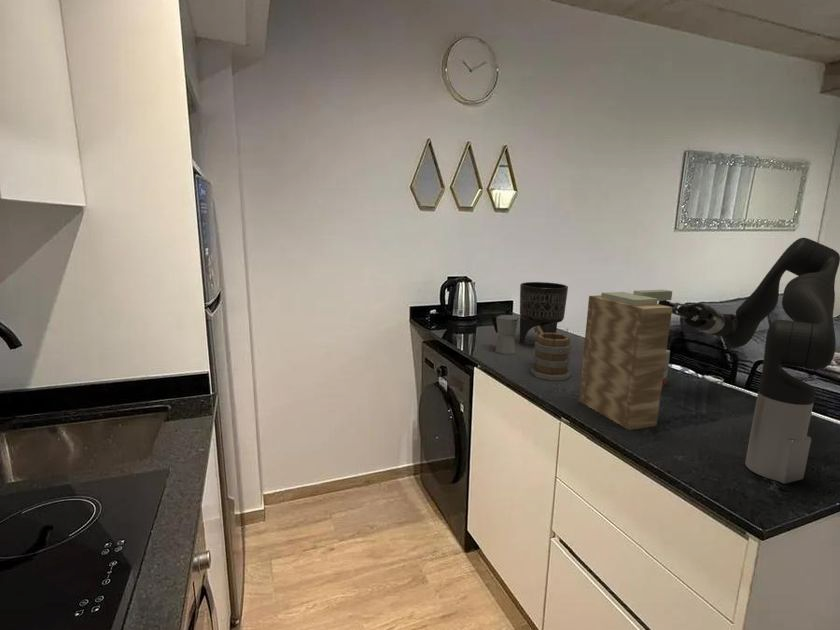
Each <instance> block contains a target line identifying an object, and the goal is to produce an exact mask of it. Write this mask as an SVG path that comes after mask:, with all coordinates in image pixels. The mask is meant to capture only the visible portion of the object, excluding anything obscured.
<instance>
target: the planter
mask: <svg viewBox="0 0 840 630" xmlns="http://www.w3.org/2000/svg"><path fill="white" fill-rule="evenodd" d="M568 290H569V286H568V285H566V284H564V283H563V284H562V283H558V282H557V283H555V282H544V281H543V282H542V281H529V282H522V283H520V285H519V316H520V317H519V343H520V344H524V343H526V338H527V334H528V333H529V331H530V330H531V329H533V328H535V327H536V326H540V328H541V329H542V331H543V333H557V331H558V330H557V327H558V324H559V323H561V322H563V321H564V319H565V313H566V305H567V300H568V299H567V298H568V292H569V291H568Z"/></svg>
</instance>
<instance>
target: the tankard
mask: <svg viewBox="0 0 840 630" xmlns="http://www.w3.org/2000/svg"><path fill="white" fill-rule="evenodd" d="M533 328H534V329H533V331H534V333H537V335H536V336H537V339H536V341H534V355H533V363H535V364H534V366H533V367H531V368H530V373H531V374H532V375H533V376H535V377H536V378H537V379H542V380H546V381H549V382H555V381H557V382H558V381H566V380H568V379H569V378H570V377H571V375H572V371H570V370H569V369H568V366H569V365H571V357H569V354H570V352H571V351H572V343H570V342H571V337H570V336H568V335H566V334H563V333H557V332H556V333H543V331H542V329H541V328H540V326H536V327H533Z"/></svg>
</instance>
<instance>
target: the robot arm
mask: <svg viewBox="0 0 840 630" xmlns="http://www.w3.org/2000/svg"><path fill="white" fill-rule="evenodd" d="M839 267H840V253H839V252H838V251H836V250H835V249H833V248H831V247H829V246H827V245H825V244H822V243H820V242H819V241H818V242H817V241H815V240H813V239H811V238H808V237H800V238H798V239H796V240H795V241H793V242H792V243H791V244H790V245H789V246H788V247H787V248H786V249H785V250H784V252H782V254H781V255H780V257H779V258H778V259H777V261H776V262H775V264H773V266H772V267H771V268H770V269H769V271H768V272H767V273H766V275H765V276H764V277H763V279H762V280H761V282H760V283H759V284H758V286H757V287H756V288H755V290H754V291H752V293H751V294H750V295H749V296H748V297H747V299H745V300H744V301H743V302H742V303H741V304H740V306H739V307H737V309H736V311H735V314H733V313H722V312H720V311H719V310H717V309H715V308H713V307H711V306H709V305H707V304H704V303H699V302H697V303H693V304H683V303H680V302H672V301H671V300H665V301H658V302H657V304H660V305H664V306H669V307H672V314H671V315H676V316H678V317H679V318H680V317H681V318H682V319H683V320H684V322H685V324H686V325H687V326H688V327H690V328H693V329H695V330H697V331H699V332H703V333H707V334H710V335H713V336H716V337H721V338H722V339H723V341H724V342H725V344H726V345H727V346H729V347H730V348H735V349H736V348H740V347H741V348H742V347H743V346H745V345H747V344H748V343H749V342H750V341H751V340H752V338H753V337H754V335H755V333H756V331H757V329H758V327H759V326H760V323H762V321H763V320H765V318H767V317H768V316H769V315H770V314H771V313H772V312H773V311H774V310H775V309H776V307H777V305H778V302H779V294H780V293H779V292H780V281H781V279H782V277H783V276H784V273H786V272H789V273H792V274H794V275H795V277H793V278H792V279H791V280H790V281H789V282H788V283H787V284H786V286H785V288H784V290H783V295H782V298H781V305H782V309H783V311H784V312H785V314H786V315H787V317H789V318H790V320H786V319H776V320H773V321H772V322H771V323H770V324H769V327H768V328H767V331H766V338H765V345H764V354H763V355H764V356H763V363H762V364H763V365H762V371H761V376H760V381H759V385H758V389H757V396H756V401H755V407H754V411H753V417H752V423H751V428H750V434H749V439H748V446H747V452H746V455H745V456H746V457H745V462H744V463H745V466H746V467H747V469H748V470H750V471H751V472H753V473H755V474H757V475H759V476H760V477H764V478H767V479H769V480H773V481H777V482H779V483H781V484H789V483H793V482H797V481H801V480H803V479H804V476H805V472H806V467H807V462H808V457H809V453H810V448H811V443H812V437H811V436H809V435H808V431H809V427H810V421H811V417H812V412H813V408H814V407H813V406H814V403H815V398H816V389H815V388H814V387H813V386H812V385H810V384H808V382H807V383H806V382H805V381H803V380H801V379H798V378H796V377H795V376H792V374H789V373H788V372H787V371H786V370H785V369H784V368H783V365H785V366H789V367H793V368H794V367H796V368H801V369H802V368H803V369H806V370H807V369H808V370H823V369H826V368H827V367H828V366H830V365H831V363H832V362H833V359H834V357H835V353H836V340H837V339H836V333H835V324H834V309H835V302H836V301H835V300H836V293H835V287H836V286H835V285H836V284H835V283H836V276H837V272H838V270H839ZM678 307H679V308H678Z"/></svg>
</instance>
